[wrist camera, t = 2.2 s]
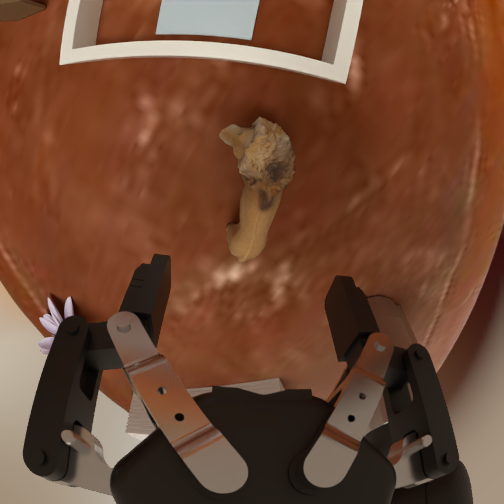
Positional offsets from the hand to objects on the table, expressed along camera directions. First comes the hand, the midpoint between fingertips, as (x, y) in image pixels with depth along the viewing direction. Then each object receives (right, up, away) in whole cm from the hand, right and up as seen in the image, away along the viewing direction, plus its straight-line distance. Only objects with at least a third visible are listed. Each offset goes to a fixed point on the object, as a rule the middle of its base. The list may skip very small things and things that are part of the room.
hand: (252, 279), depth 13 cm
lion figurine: (0, +8, +12) cm, 15 cm away
